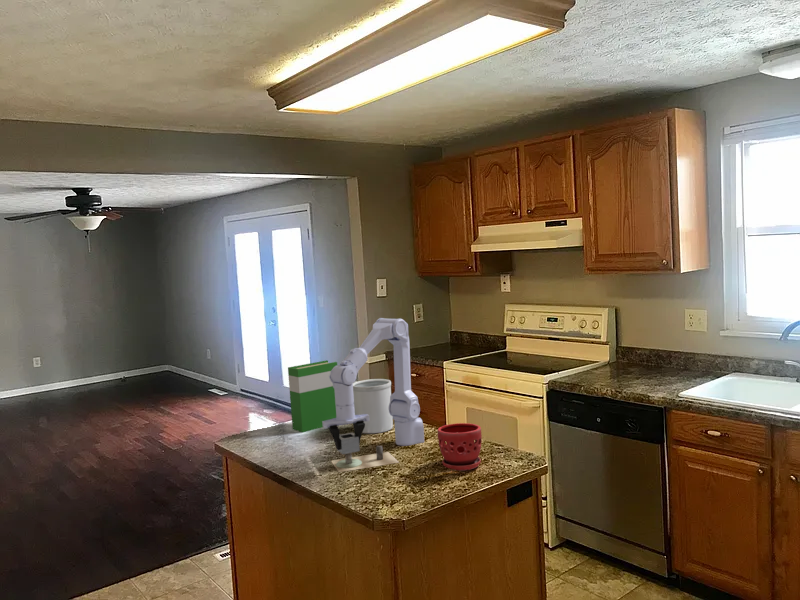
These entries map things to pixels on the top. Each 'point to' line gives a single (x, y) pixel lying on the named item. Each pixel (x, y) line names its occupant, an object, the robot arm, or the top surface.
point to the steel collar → (349, 443)
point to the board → (364, 460)
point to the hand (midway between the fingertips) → (347, 447)
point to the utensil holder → (373, 404)
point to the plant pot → (460, 445)
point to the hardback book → (311, 395)
